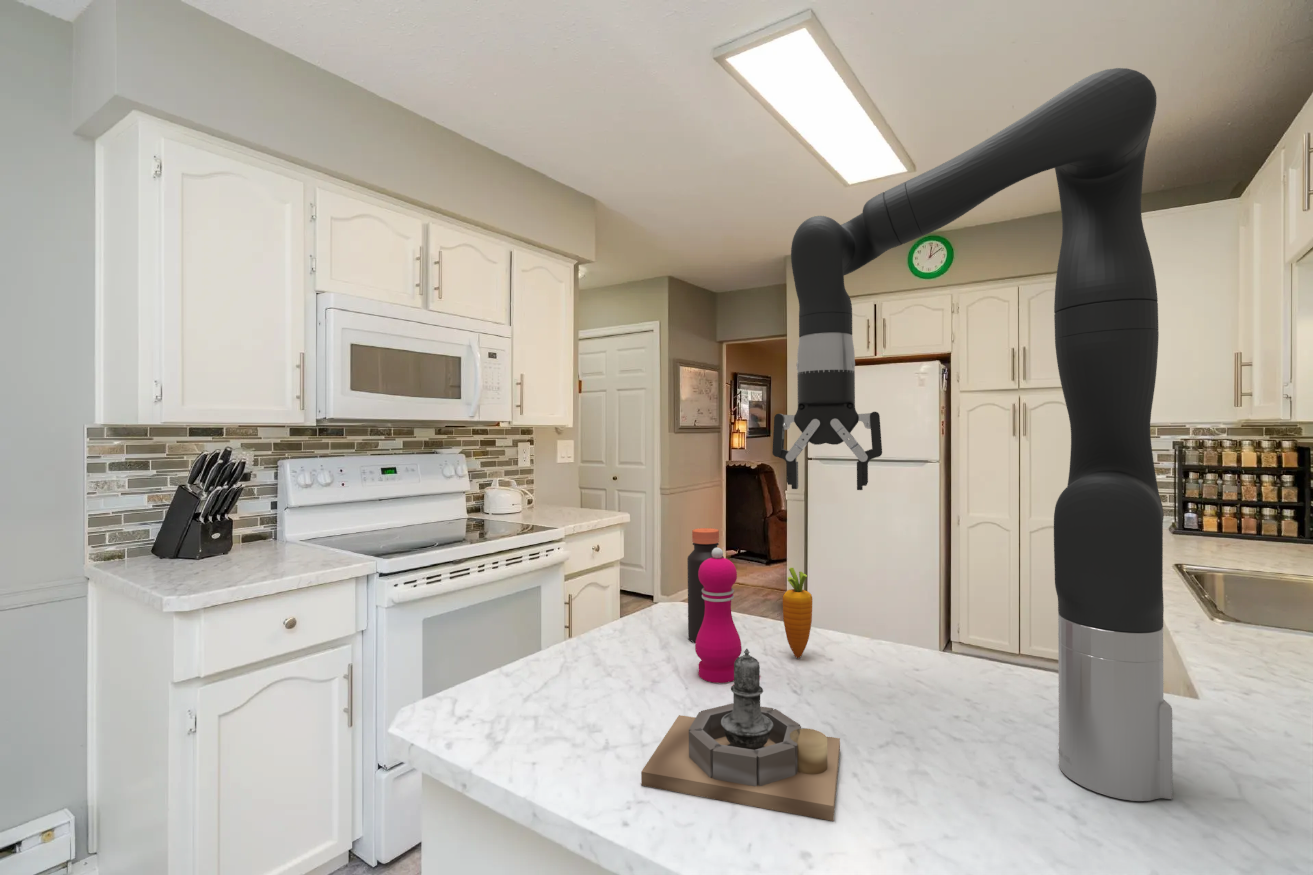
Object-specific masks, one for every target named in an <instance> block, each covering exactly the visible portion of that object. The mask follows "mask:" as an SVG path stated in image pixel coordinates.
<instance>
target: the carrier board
mask: <svg viewBox="0 0 1313 875" xmlns="http://www.w3.org/2000/svg"><path fill="white" fill-rule="evenodd" d="M733 705H734V702H733V703H729V704H725V705H720V706H716V707H713V708H712V707H711V708H708V709H702V710H701V711H699V712H698V714H697V715H696V717H693V716H688V715H681V714H678V716H677V717H676V719H675V720H674V721H673V723H672V725H671V726H670V728H669V729H668V731H667V733H665V736H664V737H663V738H662V740H661V741H660V743H659V745H657V747H656V749H655V751H654V752H653V753H652V754H651V756H650V758H649V759H648V761H647V762H646V764H645V765H644V766H643V768H642V770H641V773H640V774H641V775H640V776H641V779H640V780H641V783H640V784H641V786H643V787H648V788H654V789H659V790H664V791H671V792H674V793H675V792H676V793H679V794H685V795H691V796H696V797H702V798H707V799H712V800H716V801H722V802H723V801H724V802H728V803H734V804H739V805H745V806H749V807H755V808H759V809H760V808H761V809H766V810H771V811H776V812H781V813H786V814H792V815H798V816H804V817H808V818H814V819H820V820H826V821H830V822H834V821H835V810H836V809H835V808H836V800H837V789H838V788H837V787H838V777H839V766H840V757H841V738H840V737H833V736H827V735H826V734H824V733H823V732H821V731H819V730H817V729H815V728H814V729H813V728H805V727H804V728H803V727H802V725H801V724H800V723H799V722H797V721H795V720H793V719H792V718H790V717H789V716H787V715H786V714H784V713H783V712H781V711H780V710H778V709H777V708H775V709H774V708H773V707H767V706H762V705H760V709H761V713H762V714H763V715H765V716H767V717H768V718H769V719H770V720H771V721H772V722H773V728H772V730H771V731H770V736H769V738H768V741H767V743H766V744H765V745H763V746H764V747H763V748H759V749H756V750H752V749H746V748H739V747H733V746H727V745H729V744H731V743H730V742H729V741H728V740H727V738H726V736H725V733H724V728H723V727H722V725H721V719H722V718H723V717H724V716H725V715H726V714H729V713H731V712H732V710H733Z"/></svg>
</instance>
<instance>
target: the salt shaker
mask: <svg viewBox="0 0 1313 875" xmlns="http://www.w3.org/2000/svg"><path fill="white" fill-rule="evenodd" d="M750 653H751V652H750V651H749V649H748V648H745V650H743V655H740V656H739V657H738V658H737V659H736V660H735V662H734V681H733V685H731V686H730V691H731V692H732V694H733V695H732V696H733V703H734V705H733V710H732V712H731V713H729V714H726V715H725V716H724V717H723V718H722V719H721V725H722V727H723V728H724V733H725V736H726V738H727V740H728V741H729V742H730V743H731V744H729V745H727V746H733V747H739V748H746V749H752V750H756V749H759V748H763V747H764V746H763V745H765V744H766V743H767V741H768V738H769V736H770V731H771V730H772V728H773V722H772V721H771V720H770V719H769V718H768V717H767V716H765V715H763V714H762V713H761V709H760V706H761V695H762V694H763V692H764V688H763V687H761V684H760V673H761V671H760V669H761V668H760V667H761V666H760V662H759V661H758V659H757V658H755V657H753V656H751V655H750Z"/></svg>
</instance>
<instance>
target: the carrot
mask: <svg viewBox="0 0 1313 875" xmlns="http://www.w3.org/2000/svg"><path fill="white" fill-rule="evenodd" d="M788 571H789V573H790V575H791V576H788V577H787V582H788V583H789V584H790V586H791V587H792V588H793V589H787V590H786V591H785V593H784V594H783V596H782V615H783V616H782V618H783V625H784V631H785V632H784V633H785V635H786V639H787V643H788V645H789V648H790V650H791V652H792V654H793V656H794V657H795V658H796V659H798V660H799V659H800V658H801V657H802V655H803V654H804V651H805V649H806V648H807V645H808V642H809V639H810V635H811V630H812V629H811V628H812V621H813V596H812V594H811V592H809V591H807V590H805V589H803V587H804V585H805V581H806V579H807V577H808V575H807V574H806V573H804V572H803V571H799V572H798V574H797V572H796V571H795V568H794V567H789V568H788ZM798 575H799V577H798Z"/></svg>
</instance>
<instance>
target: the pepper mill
mask: <svg viewBox="0 0 1313 875" xmlns="http://www.w3.org/2000/svg"><path fill="white" fill-rule="evenodd" d="M712 556H713V558H709V559H707V560H705V561H704V562H703V563H702V564H701V565H700V568H699V572H698V577H699V581H700V582H701V584H702V585H703V586H704V588H703V589H702V592H703V593H702V598H703V599H704V600H705V614H704V619H703V622H702V625H701V627H700V630H699V632H698V634H697V638H696V643H695V642H694V643H695V644H694V648H695V649H694V650H695V654H696V656H697V657H698V658H699V659H700V661H699V663H698V664H697V665H698V677H699V678H700V679H702V680H703V681H706V682H708V683H713V684H725V683H731V682H734V662H735V660H736V659H737V658H738V657H740V656H741V654H742V649H743V648H742V641H741V638H740V634H739V631H738V630H737V627H736V624H735V623H734V619H733V616H732V615H733V614H732V608H731V607H732V600H733V599H734V598H735V596H734V592H735V590H734V589H733V586H734V585H735V583H736V582H737V579H738V574H737V573H738V572H737V567H736V566H735V564H734V563H733V562H732V561H731V560H730V559H729V558H725V557H724V551H723V550H722V548H720V547H717V548H714V549H713V550H712ZM722 556H723V557H724V558H722Z"/></svg>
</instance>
